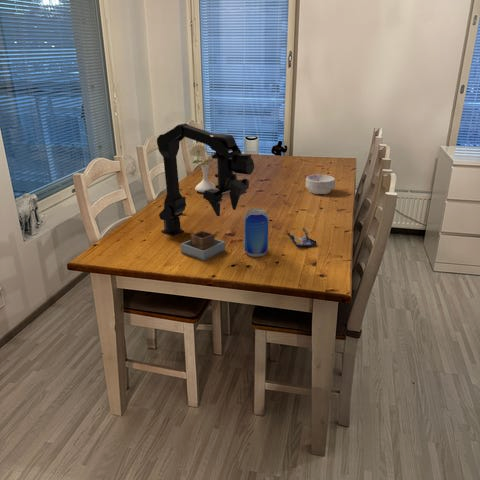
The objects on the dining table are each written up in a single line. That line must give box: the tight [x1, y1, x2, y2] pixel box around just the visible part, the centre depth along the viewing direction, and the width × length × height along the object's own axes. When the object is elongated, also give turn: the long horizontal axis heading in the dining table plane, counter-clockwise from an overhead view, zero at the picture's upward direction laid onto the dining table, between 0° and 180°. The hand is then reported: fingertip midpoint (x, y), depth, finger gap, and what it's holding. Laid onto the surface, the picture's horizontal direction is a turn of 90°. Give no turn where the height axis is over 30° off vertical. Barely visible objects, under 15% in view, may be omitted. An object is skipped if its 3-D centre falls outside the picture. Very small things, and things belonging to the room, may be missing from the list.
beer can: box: [244, 207, 269, 258], centre depth 155 cm, size 8×8×16 cm
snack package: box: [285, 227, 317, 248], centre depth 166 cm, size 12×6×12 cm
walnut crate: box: [190, 230, 216, 251], centre depth 158 cm, size 6×6×6 cm
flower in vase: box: [190, 144, 217, 193], centre depth 229 cm, size 13×11×25 cm
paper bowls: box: [305, 174, 336, 195], centre depth 229 cm, size 15×15×8 cm
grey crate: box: [180, 238, 226, 262], centre depth 159 cm, size 11×11×4 cm
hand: (226, 212), depth 161 cm, fingers open, 9 cm apart
